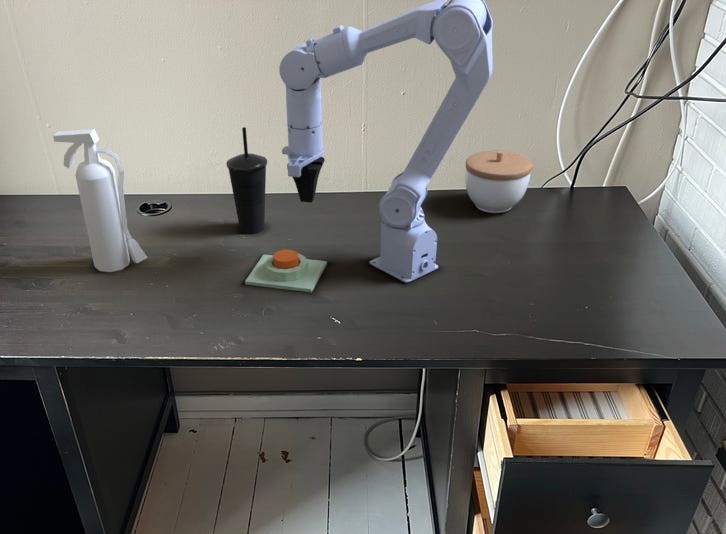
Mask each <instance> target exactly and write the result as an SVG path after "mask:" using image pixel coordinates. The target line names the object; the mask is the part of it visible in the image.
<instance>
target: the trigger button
mask: <svg viewBox="0 0 726 534" xmlns="http://www.w3.org/2000/svg"><path fill="white" fill-rule="evenodd" d="M298 254H299V252H297V251H295V250H292V249H281V250H278V251H276V252H274V253H273V254H272V255H273V264H274V267H276V268H278V269H290V268H294V267H296V266H298V264H299V259H298Z"/></svg>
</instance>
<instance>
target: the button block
mask: <svg viewBox="0 0 726 534" xmlns="http://www.w3.org/2000/svg"><path fill="white" fill-rule="evenodd" d="M273 255H274V254H263V255H262V256H261V257H260V259H259V260H258V262H257V263H256V264H255V266H254V267H253V269H252V270H251V272H250V273H249V274H248V276H247V278H246V279H245V280H244V285H246V286H247V285H248V286H255V287H264V288H273V289H281V290H287V291H295V292H296V291H297V292H305V293H313V291H314V290H315V287H316V286H317V283H318V282H319V279H320V278H321V276H322V274H323V273H324V270H325V269H326V267H327V265H328V261H325V260H321V259H320V260H319V259H309V258H307V257H306V256H305V255H303V254H300V253H298V259H299V264H298V266H296V267H294V268H290V269H278V268H276V267H274V264H273Z"/></svg>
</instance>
